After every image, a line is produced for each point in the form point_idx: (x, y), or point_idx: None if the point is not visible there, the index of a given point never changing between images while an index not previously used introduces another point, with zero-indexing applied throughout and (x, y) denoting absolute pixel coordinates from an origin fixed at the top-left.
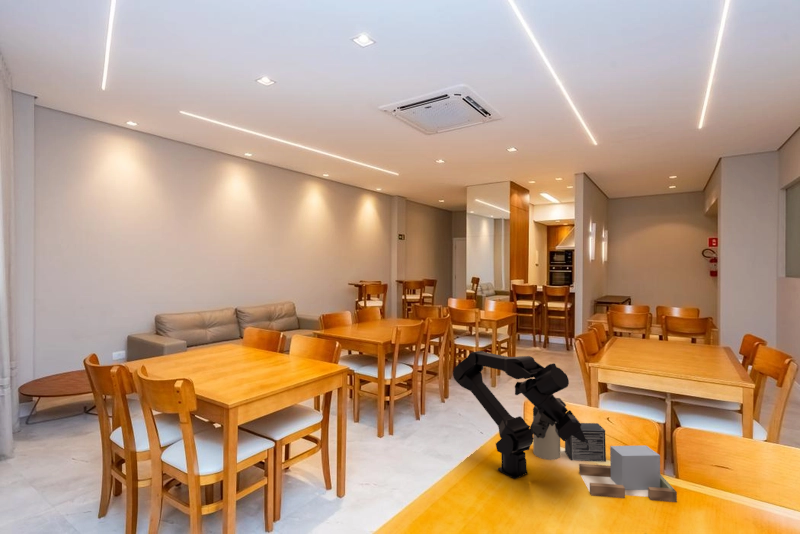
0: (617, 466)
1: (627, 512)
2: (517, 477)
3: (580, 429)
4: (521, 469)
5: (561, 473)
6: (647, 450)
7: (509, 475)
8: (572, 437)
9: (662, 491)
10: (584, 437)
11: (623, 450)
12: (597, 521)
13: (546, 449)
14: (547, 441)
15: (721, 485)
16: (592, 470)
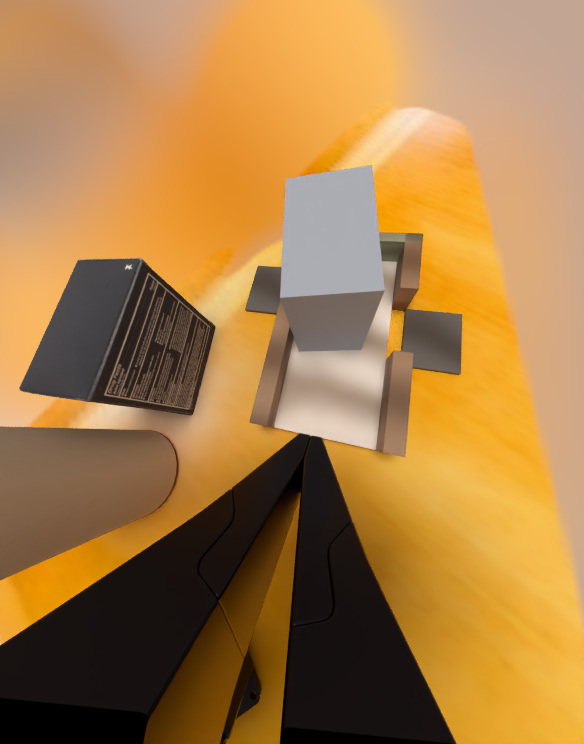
0: (338, 325)
1: (454, 385)
2: (256, 678)
3: (356, 533)
4: (243, 685)
5: (241, 472)
6: (328, 187)
7: (240, 713)
8: (127, 396)
9: (420, 263)
10: (326, 451)
11: (327, 264)
12: (522, 499)
13: (139, 501)
14: (111, 507)
15: (322, 157)
16: (278, 391)
